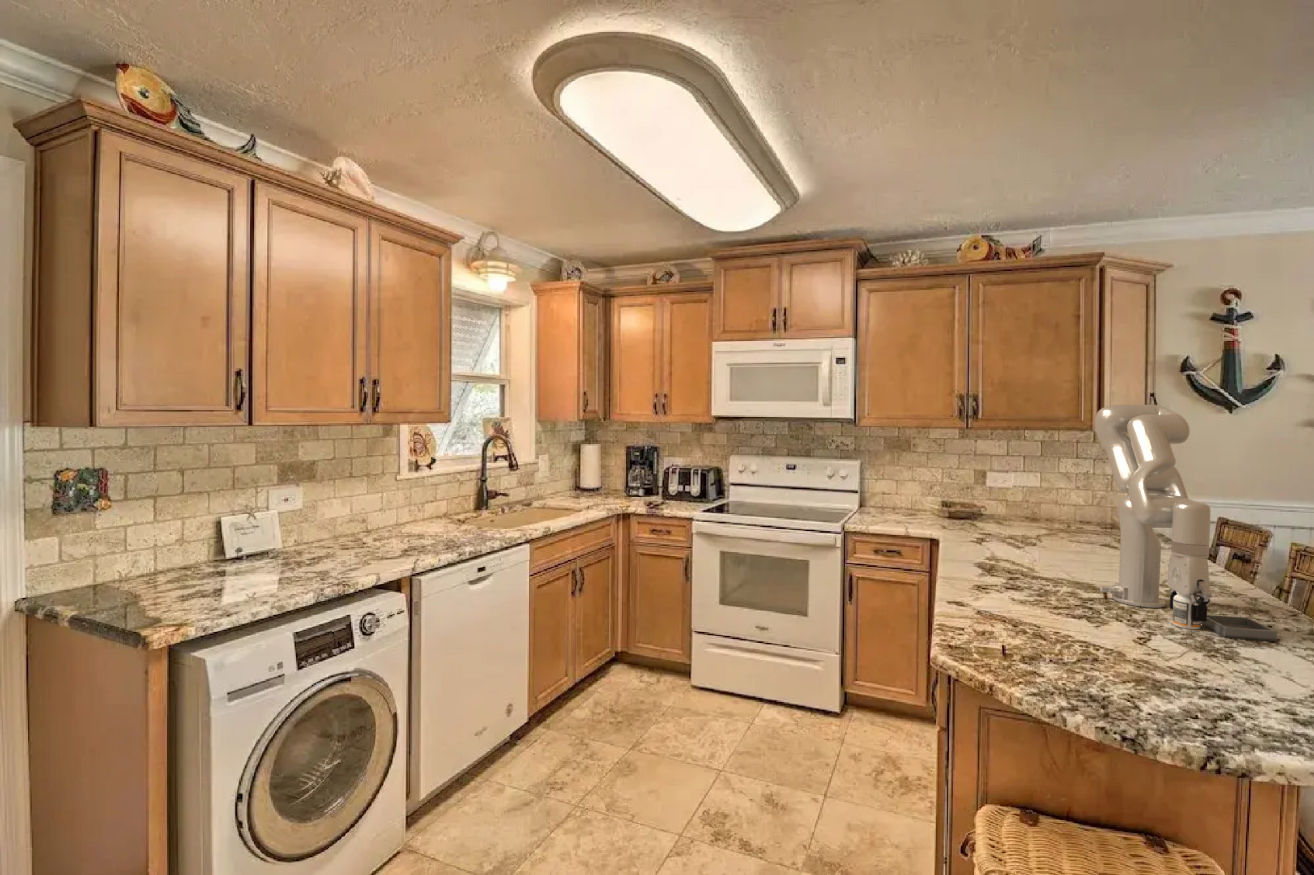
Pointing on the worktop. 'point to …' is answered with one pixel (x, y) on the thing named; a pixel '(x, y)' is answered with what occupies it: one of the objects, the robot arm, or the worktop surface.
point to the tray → (1239, 628)
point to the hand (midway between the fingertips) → (1187, 615)
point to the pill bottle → (1184, 612)
